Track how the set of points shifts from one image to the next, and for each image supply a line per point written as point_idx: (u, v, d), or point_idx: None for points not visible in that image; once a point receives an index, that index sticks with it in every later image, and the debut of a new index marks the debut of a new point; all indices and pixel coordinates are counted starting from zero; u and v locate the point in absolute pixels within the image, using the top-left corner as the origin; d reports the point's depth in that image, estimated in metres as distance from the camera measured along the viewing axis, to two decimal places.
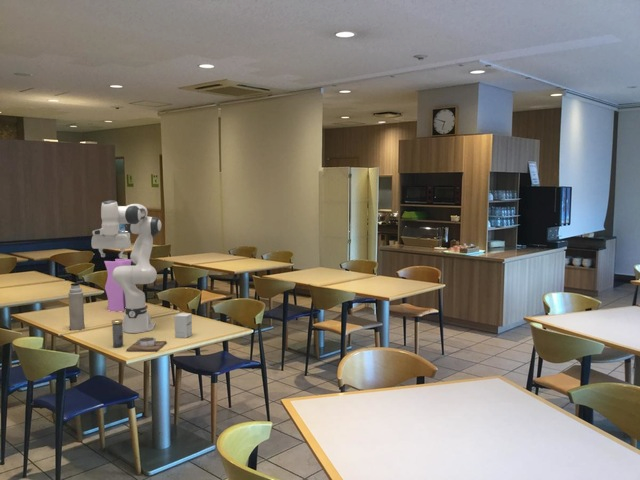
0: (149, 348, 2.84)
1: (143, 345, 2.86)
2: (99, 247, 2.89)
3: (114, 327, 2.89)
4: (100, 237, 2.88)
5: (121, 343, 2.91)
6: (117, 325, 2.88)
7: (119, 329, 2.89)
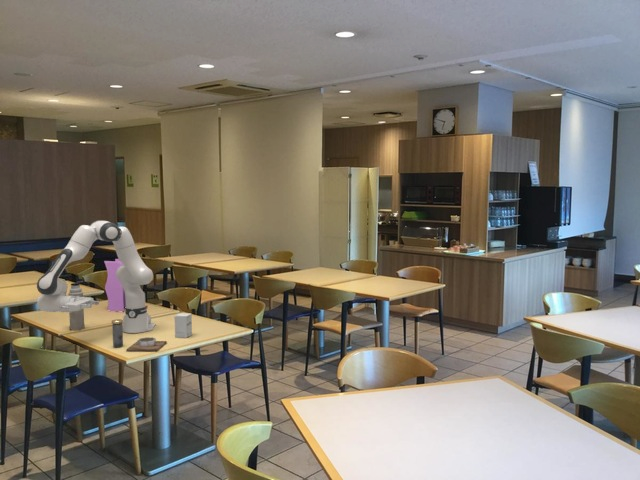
0: (149, 348, 2.84)
1: (143, 345, 2.86)
2: None
3: (114, 327, 2.89)
4: None
5: (121, 343, 2.91)
6: (117, 325, 2.88)
7: (119, 329, 2.89)
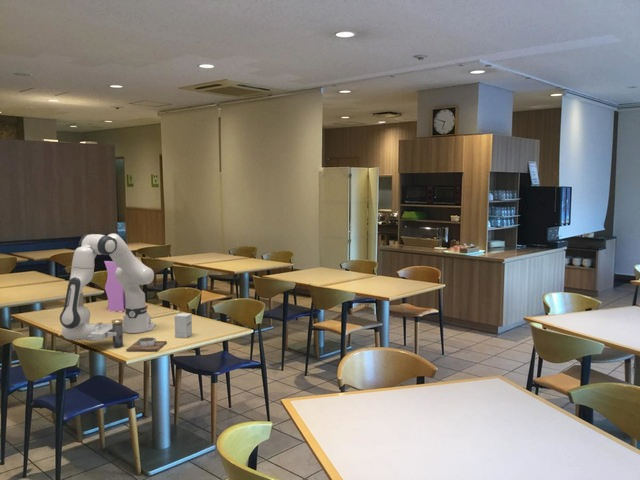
0: (149, 348, 2.84)
1: (143, 345, 2.86)
2: None
3: (114, 327, 2.89)
4: None
5: (121, 343, 2.91)
6: (117, 325, 2.88)
7: (119, 329, 2.89)
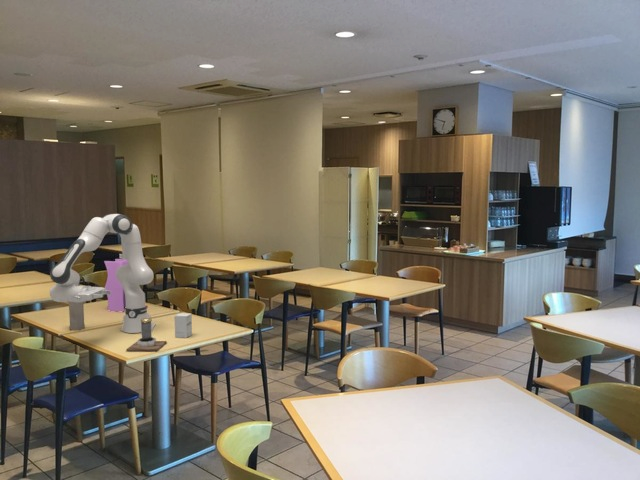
0: (149, 348, 2.84)
1: (143, 345, 2.86)
2: None
3: (143, 325, 2.87)
4: None
5: None
6: (146, 323, 2.87)
7: (148, 327, 2.87)
